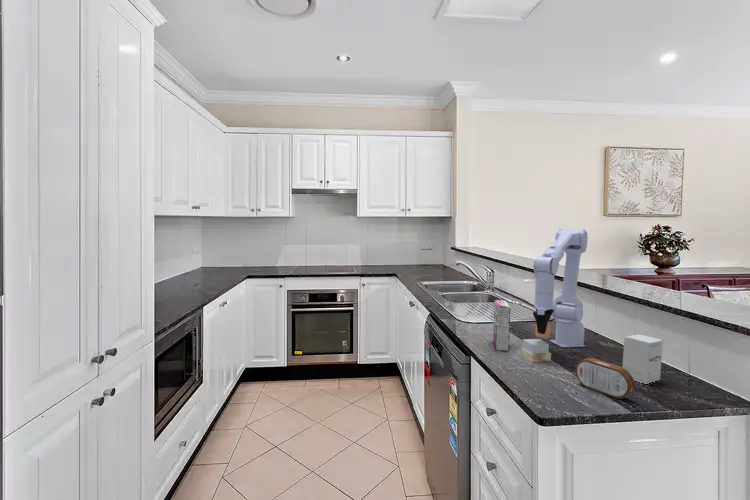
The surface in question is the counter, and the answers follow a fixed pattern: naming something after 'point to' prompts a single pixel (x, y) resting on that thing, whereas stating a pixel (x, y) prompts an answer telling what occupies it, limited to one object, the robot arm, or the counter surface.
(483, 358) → the counter surface
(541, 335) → the light brown cylinder
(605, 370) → the tin
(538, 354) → the birch base block
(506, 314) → the candy bar box
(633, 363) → the supplement box
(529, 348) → the grey-blue top block
